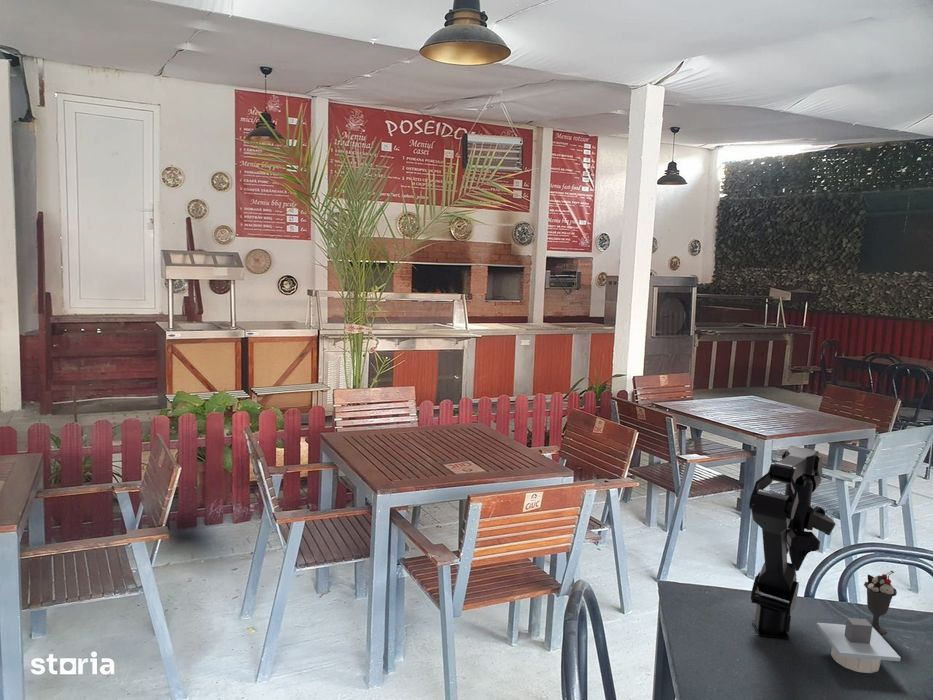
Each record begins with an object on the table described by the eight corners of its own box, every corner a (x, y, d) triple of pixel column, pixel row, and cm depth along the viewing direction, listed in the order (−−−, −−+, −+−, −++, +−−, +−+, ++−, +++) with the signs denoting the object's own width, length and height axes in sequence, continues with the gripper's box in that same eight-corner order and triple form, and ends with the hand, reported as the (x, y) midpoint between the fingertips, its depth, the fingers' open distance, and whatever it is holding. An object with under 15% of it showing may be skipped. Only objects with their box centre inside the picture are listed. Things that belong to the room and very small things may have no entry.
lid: (839, 656, 150) (842, 634, 149) (816, 625, 162) (818, 605, 161) (900, 661, 149) (903, 639, 148) (872, 630, 161) (875, 610, 160)
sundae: (895, 638, 166) (904, 576, 163) (863, 634, 167) (872, 572, 165) (885, 624, 172) (894, 563, 170) (854, 619, 173) (862, 560, 171)
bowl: (841, 670, 152) (843, 652, 151) (825, 646, 161) (827, 629, 160) (886, 675, 151) (889, 657, 150) (868, 651, 160) (871, 634, 159)
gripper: (848, 517, 162) (839, 583, 165) (820, 489, 181) (813, 549, 183) (795, 512, 164) (787, 578, 166) (773, 485, 182) (766, 544, 185)
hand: (790, 562), depth 175 cm, fingers open, 9 cm apart
